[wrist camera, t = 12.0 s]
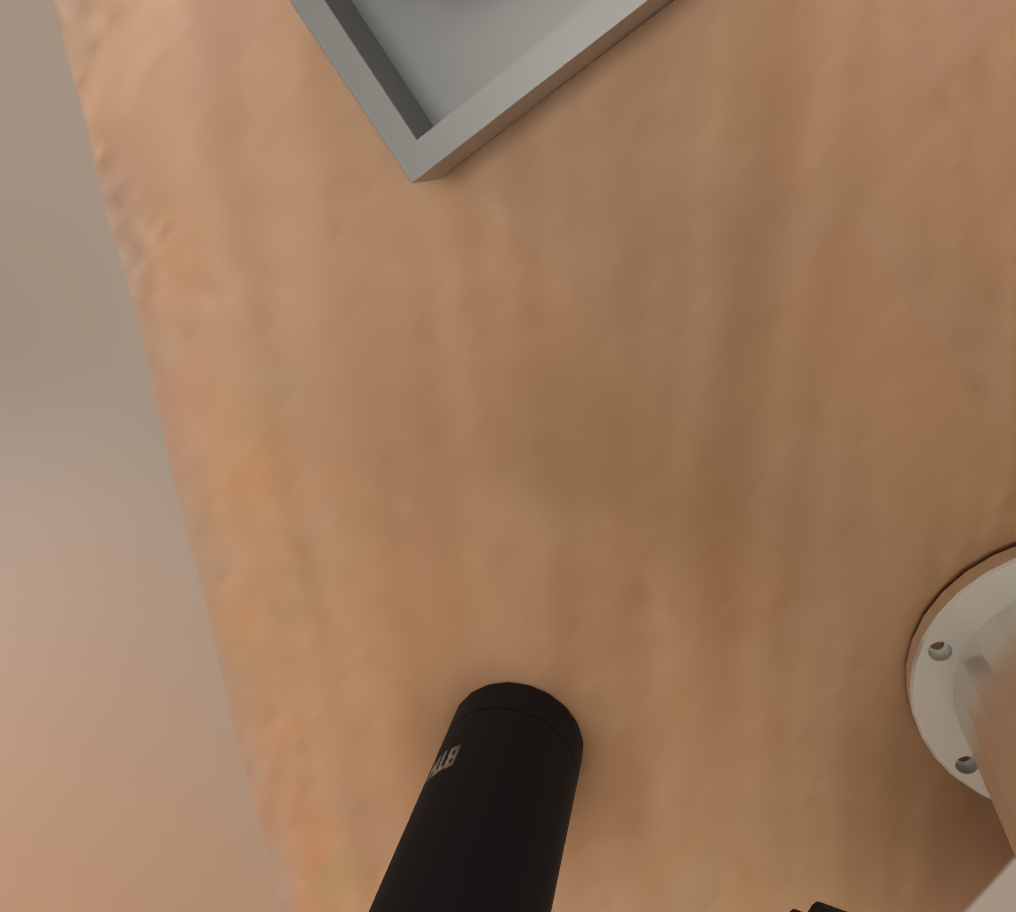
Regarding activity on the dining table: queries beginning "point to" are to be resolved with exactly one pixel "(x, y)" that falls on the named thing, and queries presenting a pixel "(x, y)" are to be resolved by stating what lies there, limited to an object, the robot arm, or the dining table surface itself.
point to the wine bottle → (490, 809)
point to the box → (460, 64)
